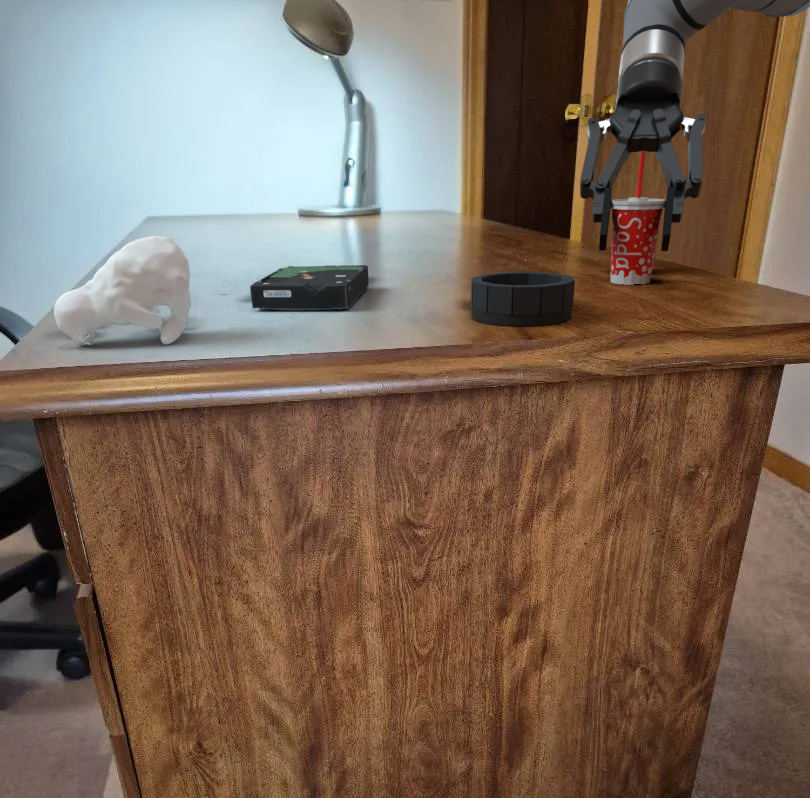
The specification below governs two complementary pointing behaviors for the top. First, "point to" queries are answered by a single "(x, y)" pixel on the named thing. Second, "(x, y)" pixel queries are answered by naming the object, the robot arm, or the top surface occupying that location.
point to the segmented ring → (522, 298)
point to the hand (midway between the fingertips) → (634, 242)
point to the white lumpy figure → (131, 292)
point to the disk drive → (310, 288)
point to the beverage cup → (634, 235)
